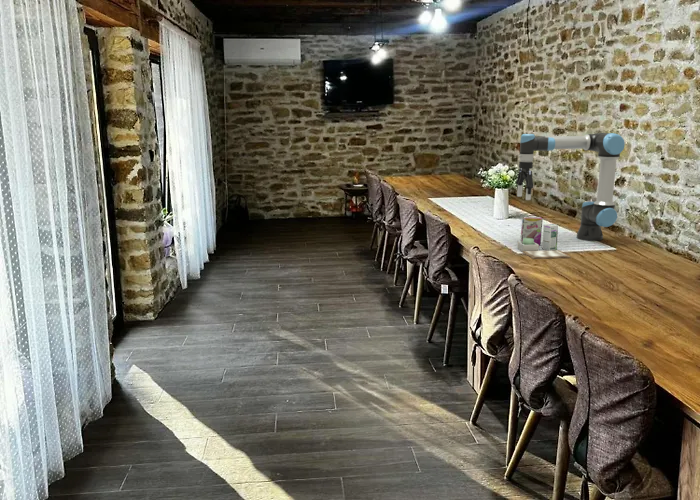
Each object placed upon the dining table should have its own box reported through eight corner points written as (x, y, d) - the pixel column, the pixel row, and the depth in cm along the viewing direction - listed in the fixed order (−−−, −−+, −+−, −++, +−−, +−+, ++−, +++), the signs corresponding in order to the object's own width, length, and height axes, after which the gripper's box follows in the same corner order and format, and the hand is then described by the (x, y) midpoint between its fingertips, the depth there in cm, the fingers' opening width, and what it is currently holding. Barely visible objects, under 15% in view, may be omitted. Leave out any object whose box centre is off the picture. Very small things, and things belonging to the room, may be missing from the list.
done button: (530, 244, 350) (531, 237, 349) (535, 246, 344) (535, 239, 343) (520, 244, 349) (521, 237, 348) (524, 247, 343) (525, 240, 342)
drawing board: (558, 251, 343) (558, 249, 343) (570, 258, 329) (570, 256, 328) (522, 252, 341) (522, 250, 341) (533, 259, 327) (533, 257, 327)
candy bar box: (521, 245, 359) (523, 218, 355) (520, 243, 364) (521, 216, 360) (540, 245, 358) (542, 218, 354) (539, 243, 363) (541, 216, 359)
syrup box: (549, 251, 345) (551, 225, 342) (541, 248, 350) (543, 224, 347) (556, 249, 348) (558, 224, 344) (549, 247, 353) (550, 223, 349)
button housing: (532, 248, 352) (532, 241, 351) (538, 251, 343) (538, 244, 342) (517, 248, 351) (517, 241, 350) (522, 252, 342) (523, 245, 341)
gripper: (512, 159, 360) (510, 195, 365) (527, 163, 336) (525, 201, 341) (524, 159, 361) (522, 194, 366) (541, 163, 337) (538, 201, 342)
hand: (523, 198), depth 353 cm, fingers open, 13 cm apart
